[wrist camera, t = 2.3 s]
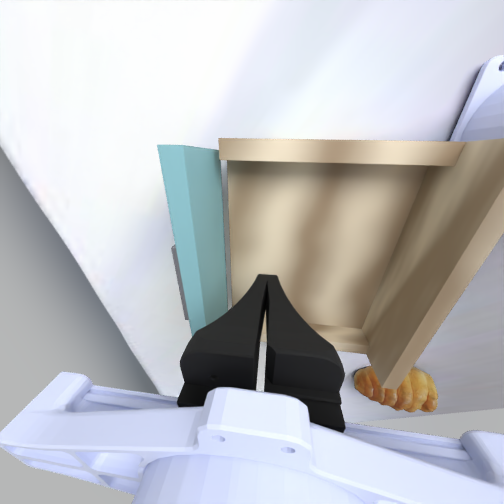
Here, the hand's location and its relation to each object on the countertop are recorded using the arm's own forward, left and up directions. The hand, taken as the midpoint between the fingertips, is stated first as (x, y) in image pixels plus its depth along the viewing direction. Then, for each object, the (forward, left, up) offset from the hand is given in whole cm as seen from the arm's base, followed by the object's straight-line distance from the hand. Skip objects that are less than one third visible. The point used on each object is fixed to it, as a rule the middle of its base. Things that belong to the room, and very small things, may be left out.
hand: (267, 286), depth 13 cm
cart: (-4, 0, -8) cm, 9 cm away
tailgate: (+4, 0, -4) cm, 6 cm away
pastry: (-19, +20, -8) cm, 29 cm away
